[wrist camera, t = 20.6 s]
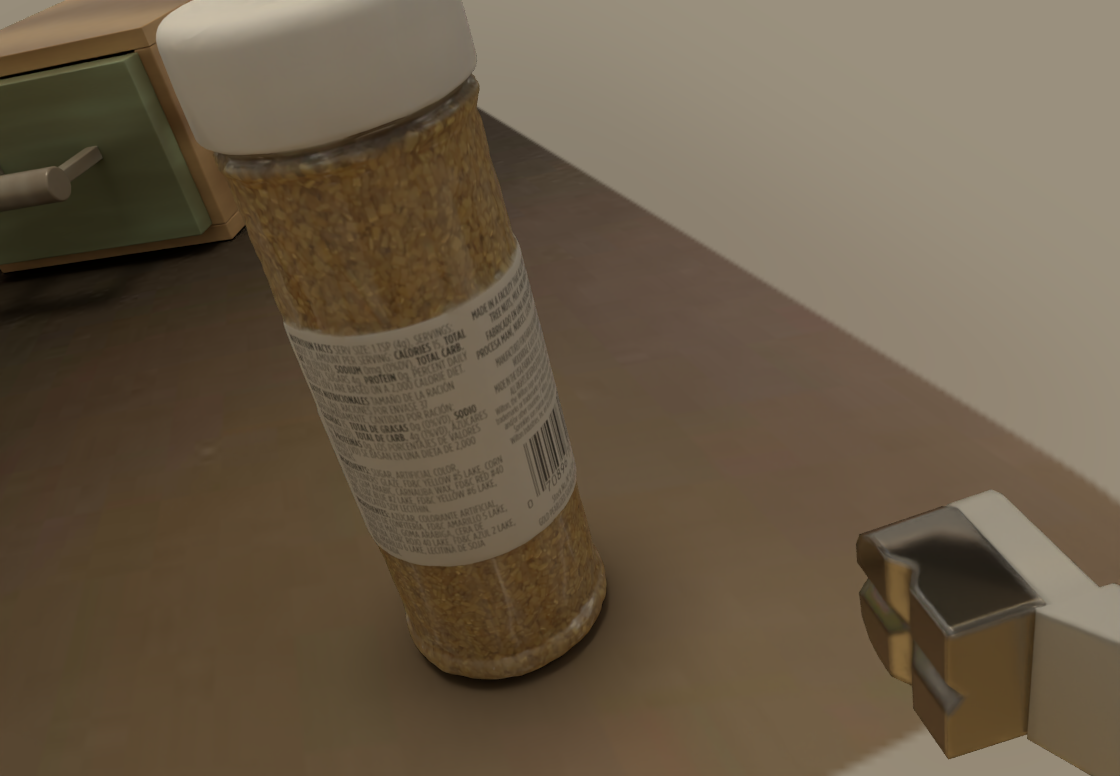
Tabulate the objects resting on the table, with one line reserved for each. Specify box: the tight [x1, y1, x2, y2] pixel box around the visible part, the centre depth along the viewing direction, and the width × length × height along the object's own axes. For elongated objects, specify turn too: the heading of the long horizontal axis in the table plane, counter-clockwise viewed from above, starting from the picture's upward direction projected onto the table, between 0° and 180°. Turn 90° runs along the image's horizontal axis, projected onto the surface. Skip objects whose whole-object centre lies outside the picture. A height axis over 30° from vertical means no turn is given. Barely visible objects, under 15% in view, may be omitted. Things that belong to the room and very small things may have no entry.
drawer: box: [0, 50, 212, 265], centre depth 47 cm, size 18×11×8 cm, turn 172°
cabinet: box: [0, 0, 245, 273], centre depth 50 cm, size 15×13×10 cm
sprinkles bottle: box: [156, 0, 607, 679], centre depth 18 cm, size 5×5×14 cm
